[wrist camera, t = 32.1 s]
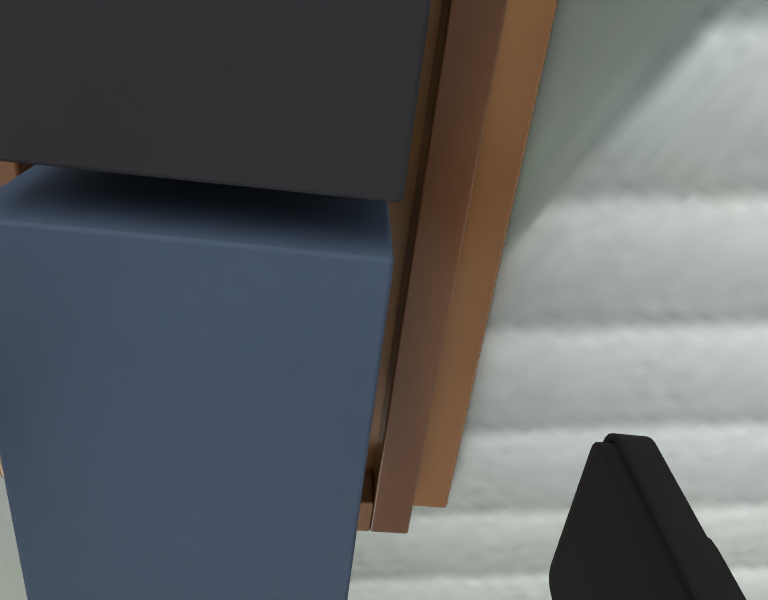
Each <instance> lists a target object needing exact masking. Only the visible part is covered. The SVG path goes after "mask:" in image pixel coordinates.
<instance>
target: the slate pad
mask: <svg viewBox="0 0 768 600" xmlns="http://www.w3.org/2000/svg"><path fill="white" fill-rule="evenodd" d="M393 266H394V257H393V247H392V237H391V227H390V217H389V207H388V202H387V201H377V200H367V199H358V198H348V197H339V196H329V195H320V194H310V193H301V192H291V191H282V190H272V189H263V188H253V187H244V186H234V185H225V184H215V183H206V182H196V181H186V180H177V179H167V178H158V177H148V176H139V175H129V174H120V173H110V172H101V171H91V170H82V169H72V168H63V167H53V166H44V165H34V166H33V167H31V168H30V169H28V170H26V171H25V172H23V173H22V174H20V175H19V176H17V177H15V178H14V179H12V180H11V181H9V182H8V183H6V184H5V185H3V186H1V187H0V458H1V464H2V469H3V474H4V479H5V484H6V490H7V495H8V500H9V505H10V510H11V515H12V521H13V526H14V531H15V536H16V541H17V547H18V552H19V557H20V562H21V567H22V572H23V578H24V583H25V588H26V593H27V598H28V600H347V597H348V590H349V583H350V576H351V569H352V561H353V554H354V547H355V540H356V533H357V525H358V518H359V511H360V504H361V497H362V489H363V482H364V475H365V468H366V461H367V453H368V446H369V439H370V432H371V425H372V417H373V410H374V403H375V396H376V389H377V381H378V374H379V367H380V360H381V353H382V345H383V338H384V331H385V324H386V317H387V309H388V302H389V295H390V288H391V281H392V273H393Z"/></svg>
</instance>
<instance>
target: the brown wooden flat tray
mask: <svg viewBox="0 0 768 600" xmlns="http://www.w3.org/2000/svg"><path fill="white" fill-rule="evenodd" d="M557 3H558V0H431V6H430V13H429V21H428V28H427V35H426V42H425V49H424V57H423V64H422V71H421V78H420V85H419V92H418V100H417V107H416V114H415V121H414V128H413V135H412V143H411V150H410V157H409V164H408V171H407V178H406V186H405V193H404V198H403V200H402V201H401V202H397V203H396V202H388V207H389V217H390V227H391V237H392V247H393V257H394V266H393V273H392V281H391V288H390V295H389V302H388V309H387V317H386V324H385V331H384V338H383V345H382V353H381V360H380V367H379V374H378V381H377V389H376V396H375V403H374V410H373V417H372V425H371V432H370V439H369V446H368V453H367V461H366V468H365V475H364V482H363V489H362V497H361V504H360V511H359V518H358V525H357V530H360V531H369V529H370V530H371V531H375V532H390V533H407V532H408V529H409V523H410V518H411V513H412V507H413V505H414V506H429V507H446V506H447V502H448V498H449V493H450V489H451V484H452V480H453V475H454V470H455V466H456V461H457V457H458V452H459V448H460V443H461V439H462V434H463V430H464V425H465V421H466V416H467V411H468V407H469V402H470V398H471V393H472V389H473V384H474V380H475V375H476V371H477V366H478V362H479V357H480V352H481V348H482V343H483V339H484V334H485V330H486V325H487V321H488V316H489V312H490V307H491V303H492V298H493V294H494V289H495V284H496V280H497V275H498V271H499V266H500V262H501V257H502V253H503V248H504V244H505V239H506V235H507V230H508V225H509V221H510V216H511V212H512V207H513V203H514V198H515V194H516V189H517V185H518V180H519V176H520V171H521V166H522V162H523V157H524V153H525V148H526V144H527V139H528V135H529V130H530V126H531V121H532V117H533V112H534V107H535V103H536V98H537V94H538V89H539V85H540V80H541V76H542V71H543V67H544V62H545V58H546V53H547V48H548V44H549V39H550V35H551V30H552V26H553V21H554V17H555V12H556V8H557ZM33 166H34V164H25V163H15V162H5V161H0V187H1V186H3V185H5V184H6V183H8V182H9V181H11V180H12V179H14V178H15V177H17V176H19V175H20V174H22V173H23V172H25V171H26V170H28V169H30V168H31V167H33ZM0 474H1V477H3V478H4V474H3V469H2V464H1V458H0Z"/></svg>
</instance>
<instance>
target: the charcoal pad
mask: <svg viewBox="0 0 768 600" xmlns="http://www.w3.org/2000/svg"><path fill="white" fill-rule="evenodd" d="M430 6H431V0H0V161H5V162H15V163H25V164H34V165H44V166H53V167H63V168H72V169H82V170H91V171H101V172H110V173H120V174H129V175H139V176H148V177H158V178H167V179H177V180H186V181H196V182H206V183H215V184H225V185H234V186H244V187H253V188H263V189H272V190H282V191H291V192H301V193H310V194H320V195H329V196H339V197H348V198H358V199H367V200H377V201H387V202H396V203H397V202H401V201H402V200H403V198H404V193H405V186H406V178H407V171H408V164H409V157H410V150H411V143H412V135H413V128H414V121H415V114H416V107H417V100H418V92H419V85H420V78H421V71H422V64H423V57H424V49H425V42H426V35H427V28H428V21H429V13H430Z"/></svg>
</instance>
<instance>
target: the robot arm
mask: <svg viewBox="0 0 768 600" xmlns="http://www.w3.org/2000/svg"><path fill="white" fill-rule="evenodd" d="M549 586H550V592H551V596H552V600H746V598H745V597H744V595H743V593H742V591H741V589H740V588H739V586H738V584H737V582H736V580H735V579H734V577H733V575H732V573H731V572H730V570H729V568H728V566H727V564H726V563H725V561H724V559H723V557H722V555H721V554H720V552H719V550H718V549H717V547H716V546H715V544H714V543H713V542H712V540H711V539H710V538H708V537H707V536H706V534H705V532H704V530H703V529H702V527H701V525H700V523H699V521H698V520H697V518H696V516H695V514H694V512H693V510H692V509H691V507H690V505H689V503H688V501H687V500H686V498H685V496H684V494H683V492H682V491H681V489H680V487H679V485H678V483H677V482H676V480H675V478H674V476H673V474H672V473H671V471H670V469H669V467H668V465H667V463H666V462H665V460H664V458H663V456H662V454H661V453H660V451H659V449H658V447H657V445H656V444H655V442H654V441H653V440H652V439H651V438H649V437H647V436H636V435H625V434H615V433H611V434H608V435H607V436H606V437H605V439H604V441H603V442H595V443H594V444H593V446H592V448H591V450H590V453H589V456H588V459H587V462H586V464H585V467H584V470H583V473H582V476H581V479H580V482H579V485H578V488H577V491H576V493H575V496H574V499H573V502H572V505H571V508H570V511H569V514H568V517H567V520H566V522H565V525H564V528H563V531H562V534H561V537H560V540H559V543H558V546H557V549H556V552H555V554H554V557H553V560H552V563H551V567H550V572H549Z"/></svg>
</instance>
